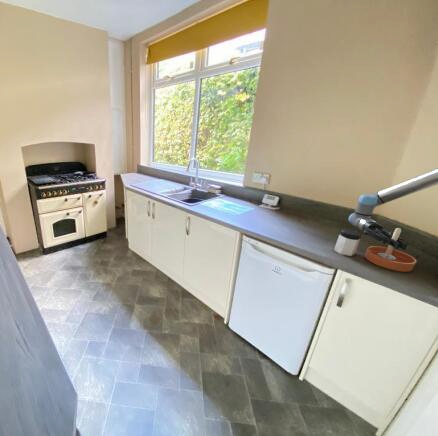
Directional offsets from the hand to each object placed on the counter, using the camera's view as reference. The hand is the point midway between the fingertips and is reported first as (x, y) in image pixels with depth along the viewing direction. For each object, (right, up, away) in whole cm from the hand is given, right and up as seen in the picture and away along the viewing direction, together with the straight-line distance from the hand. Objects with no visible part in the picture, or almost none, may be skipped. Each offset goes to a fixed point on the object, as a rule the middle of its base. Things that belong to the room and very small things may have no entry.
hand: (401, 246), depth 108 cm
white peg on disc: (+1, -8, +9) cm, 12 cm away
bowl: (+3, -9, +10) cm, 14 cm away
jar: (-10, -6, +20) cm, 23 cm away
